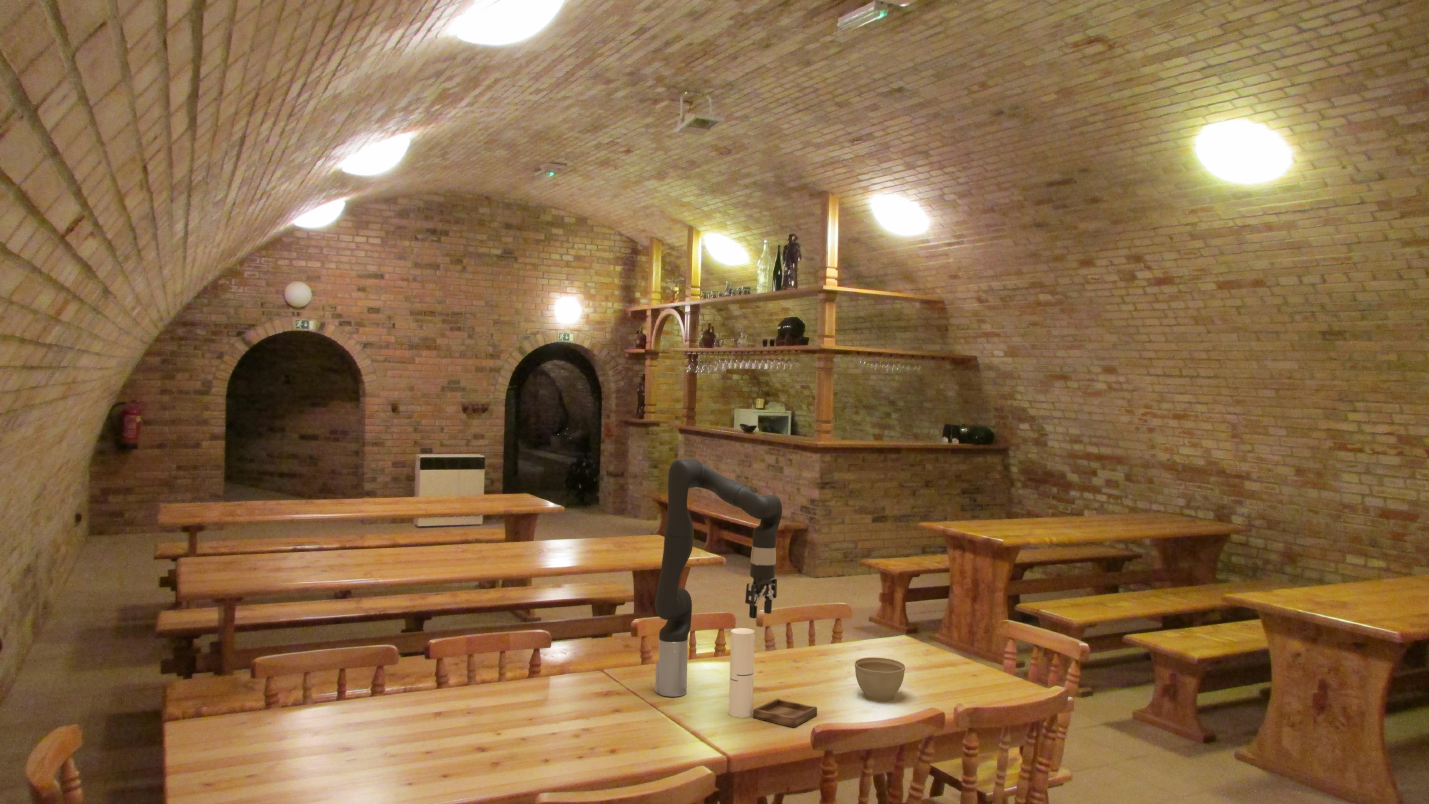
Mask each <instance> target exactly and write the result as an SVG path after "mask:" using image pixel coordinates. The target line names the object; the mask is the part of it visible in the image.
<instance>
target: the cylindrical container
mask: <svg viewBox="0 0 1429 804" xmlns="http://www.w3.org/2000/svg"><path fill="white" fill-rule="evenodd" d="M755 635H756V631H755V630H754V629H751V628H748V627H747V628H745V627H737V628H733V629H731V630H730V655H729V656H730V658H729V662H730V663H729V695H728V696H729V697H728V698H729V700H728V715H729V716H731V717H734V718H738V719H739V718H742V719H743V718H746V719H747V718H750V717H753V707H754V673H755V672H754V671H755V641H756V640H755Z"/></svg>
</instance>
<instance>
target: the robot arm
mask: <svg viewBox="0 0 1429 804" xmlns="http://www.w3.org/2000/svg"><path fill="white" fill-rule="evenodd" d="M667 475H668V478H667V488H668V489H667V497H668V498H667V512H666V524H665V529H664V539H663V550H662V551H663V552H662V557H661V558H662V560H661V566H660V567H661V568H660V575H659V579H658V584H657V589H656V594H655V599H654V607H655V612H656V614H657V615H658V617H659V618H660V619H661V620H664V621H666V622H665V624H664V625H663V626H662V627H661V628H660V630H659V633H658V638H659V639H658V661H657V662H655V683H654V684H655V686H654V687H655V689H654V690H655V693H657V694H658V695H660V696H662V697H671V698H673V697H675V698H676V697H682V696H685V695H686V694H687V693H688V691H687V688H688V652H689V651H688V647H689V646H688V645H689V644H688V643H689V633H690V631H691V626H692V625H691V624H692V613H693V602H692V597H691V593H690V592H688V590H687V589H686V588H683V587H679V584H680V577H681V575H682V573H683V571H684V568H685V567H686V565H687V563H688V560H689V559H690V557H691V555H692V551H693V545H694V537H695V536H694V535H695V534H694V533H695V528H694V524H693V521H692V517H691V515H690V511H689V507H688V495H689V489H693V488H698V489H699V488H700V489H705V490H708V491H710V492H712V493H714V494H716V496H717V497H718V498H719V499H720V500H723V502H724V503H727V504H729V505H731V506H734V507H736V508H739V509H741V510H742V511H743V512H745V513H746V514H747V515H749V516H750V517H752V518H754V519H757V520H760V522H759V524H758V526H756V527H755V528H754V529H753V532H752V547H751V553H750V568H749V569H750V571H749V576H750V578H752V579H753V580H752V583H749V582H747V583H746V588H745V601H744V603H745V604H747V605H749V611H748V612H749V613H748V614H749V618H750V619H757V617H758V604H759V602H760V600H762V597H763V598H764V603H763V604H764V605H763V613H764V614H768V615H770V614H772V611H773V610H772V608H773V606H772V605H773V602H774V599H777V596H778V594H777V593H778V592H777V591H778V580H777V578H775V577H776V567H777V566H776V565H777V563H776V562H777V549H776V547H777V532H778V529H779V526H780V522H781V520H782V514H783V504H782V501H781V498H780V497H778V496H777V495H775V494H767V495H764V494H763V495H760V494H756V492H755V490H754V489H753V488H752V487H749V486H747V485H744V484H742V483H740V482H737V481H735V480H733V479H730V478H728V477H726V476H724V475H721V474H720V473H718V472H716V471H715V470H713V469H711V468H710V467H709V466H707V465H705V464H704V463H703V462H701V461H700V460H698V459H696V458H695V459H694V458H685V459H682V458H681V459H676V460H675V461H673V462H672V463H671V465H670V467H669V470H668V474H667Z"/></svg>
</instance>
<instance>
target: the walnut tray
mask: <svg viewBox="0 0 1429 804" xmlns="http://www.w3.org/2000/svg"><path fill="white" fill-rule="evenodd" d="M816 715H817V716H818V707H817V706H813V705H808V704H804V703H799V702H794V701H791V700H790V701H789V700H785V699H780V698H776V699H774V700H771V701H769V702H767V703H765V704H763V705H760V706H759V707H756V708H754V709H753V714H752V718H753V719H757V720H759V719H760V720H761V721H764V720H766V721H765V722H768V721H769V723H774V724H778V725H782V726H786V727H791V728H796V727H798V726H799V725H802V724H803V722H804V723H805V721H806V722H807V720H808V721H810V720H811V719H813V718H814V717H813V716H815V717H817V716H816ZM812 717H813V718H812ZM809 719H810V720H809ZM801 723H802V724H801Z"/></svg>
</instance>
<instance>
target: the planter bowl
mask: <svg viewBox="0 0 1429 804" xmlns="http://www.w3.org/2000/svg"><path fill="white" fill-rule="evenodd" d="M854 668H855V669H854V671H855V677H856V680H857V681H856V682H857V683H858V687H859V688H860V690H861V691H862V692H863V697H865V698H866V699H868V700H869V701H870V700H871V701H875V702H890V701H892V700H894V699H895V695H897V693H898V691H899V690H900V688H901V687H902V684H903V681H904V676H905V671H906V665H905V664H904V663H903V662H901V661H898V660H895V659H892V658H886V657H876V656H872V657H862V658H861V657H860V658H858V659H856V660H855V661H854Z"/></svg>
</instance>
